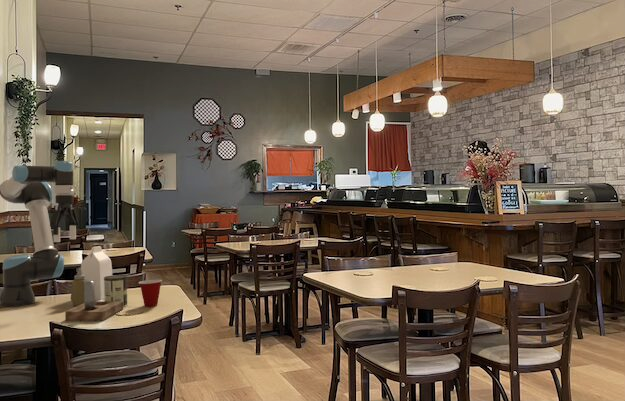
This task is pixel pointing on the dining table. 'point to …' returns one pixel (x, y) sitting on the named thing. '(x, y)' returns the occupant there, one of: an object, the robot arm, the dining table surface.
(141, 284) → the plastic cup
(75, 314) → the hole block
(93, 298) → the peg
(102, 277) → the milk
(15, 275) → the robot arm
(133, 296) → the dining table surface
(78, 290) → the squeeze bottle
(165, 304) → the dining table surface
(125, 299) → the coffee can
